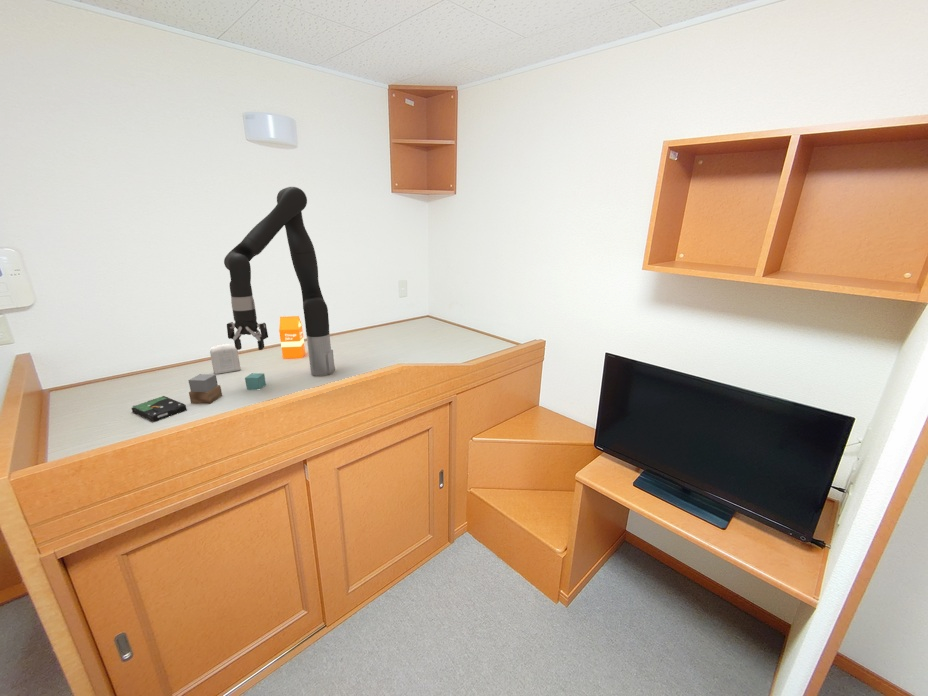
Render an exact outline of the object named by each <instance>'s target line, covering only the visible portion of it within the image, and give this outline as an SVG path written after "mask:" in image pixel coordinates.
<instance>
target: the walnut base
mask: <svg viewBox="0 0 928 696" xmlns="http://www.w3.org/2000/svg"><path fill="white" fill-rule="evenodd" d="M221 387H222V386H221V384H218V386H217V387H215V388H213V389H212V390H210V391H208V392H191V390H190V391H189V392H188V394H189V395H188V396H189V399H190V404H209V405H211V404H212V403H214V402H215V401H216V400H218V399H219V398H221V397H223V392H222V388H221ZM213 401H214V402H213Z"/></svg>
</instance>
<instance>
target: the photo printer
mask: <svg viewBox="0 0 928 696" xmlns="http://www.w3.org/2000/svg"><path fill="white" fill-rule="evenodd" d="M209 351H210V352H209V354H210V357H211V358H210V359H211V365H212V371H213V374H216V375H219V374H223V373H230V372H237V371H241V362H240V359H239V358H240V357H239V350H237V348H235V343H222V344H218V345H217V344H216V345H214V346H212V347H210V350H209Z"/></svg>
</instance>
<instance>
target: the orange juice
mask: <svg viewBox="0 0 928 696" xmlns="http://www.w3.org/2000/svg"><path fill="white" fill-rule="evenodd" d="M278 326H279V328H278V332H279V339H280V347H281V353H282V359H283V360H291V359H295V360H296V359H303V357H304V356H305V355H306V345H305V338H304V330H303V325H302V321H301V318H300V316H299V315H298V316H297V315H296V316H295V315H294V316H279V325H278Z"/></svg>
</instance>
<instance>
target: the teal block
mask: <svg viewBox="0 0 928 696" xmlns="http://www.w3.org/2000/svg"><path fill="white" fill-rule="evenodd" d="M265 376H266V375H265V373H263V372H261V373H260V372H259V373H258V372H253V373H250V374H248V375H247V376H246V377H244V380H245V386H246V390H248V391H249V390H253V391H255V390H256V391H258V390H257V389H260V390H261V389H263V386H264V387H265V386H266V385H267V382H266V377H265Z"/></svg>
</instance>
